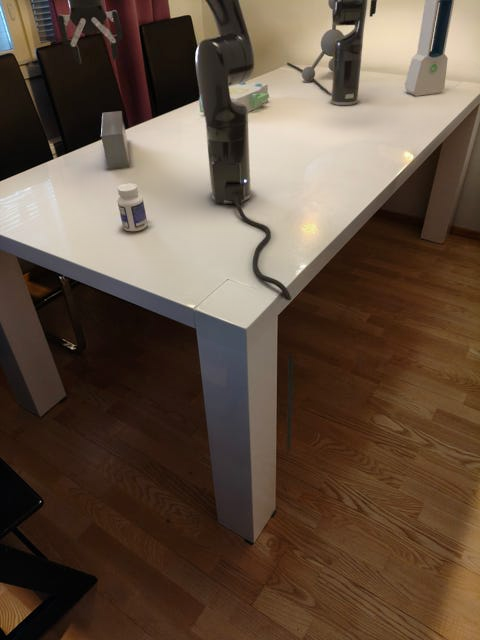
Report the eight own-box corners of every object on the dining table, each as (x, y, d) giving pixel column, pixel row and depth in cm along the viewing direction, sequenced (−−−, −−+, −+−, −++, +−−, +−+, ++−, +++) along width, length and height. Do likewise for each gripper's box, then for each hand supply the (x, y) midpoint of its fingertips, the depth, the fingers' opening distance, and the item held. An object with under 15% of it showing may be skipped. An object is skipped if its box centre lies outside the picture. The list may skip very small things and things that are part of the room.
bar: (129, 167, 134) (122, 133, 129) (108, 169, 134) (101, 135, 128) (127, 141, 152) (121, 110, 147) (109, 143, 152) (102, 112, 146)
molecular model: (291, 76, 212) (292, -6, 194) (337, 70, 217) (342, -11, 198) (313, 87, 194) (316, -2, 176) (362, 81, 199) (371, -7, 180)
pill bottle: (149, 220, 107) (142, 181, 102) (146, 231, 103) (138, 191, 98) (125, 221, 107) (116, 182, 102) (121, 232, 103) (112, 193, 98)
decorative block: (232, 78, 185) (277, 83, 175) (233, 96, 189) (277, 102, 179) (189, 94, 169) (235, 100, 159) (191, 113, 173) (236, 121, 163)
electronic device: (413, 96, 177) (429, -3, 159) (402, 91, 183) (416, -4, 164) (444, 92, 179) (462, -6, 161) (432, 88, 185) (449, -7, 167)
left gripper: (47, -15, 107) (67, 67, 117) (112, -19, 109) (126, 61, 119) (50, -16, 113) (69, 61, 123) (112, -21, 115) (126, 56, 125)
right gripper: (388, -59, 127) (380, 14, 137) (333, -56, 129) (329, 16, 139) (391, -59, 121) (382, 18, 131) (333, -55, 123) (329, 19, 133)
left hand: (97, 61), depth 121 cm, fingers open, 8 cm apart
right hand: (355, 17), depth 135 cm, fingers open, 8 cm apart
